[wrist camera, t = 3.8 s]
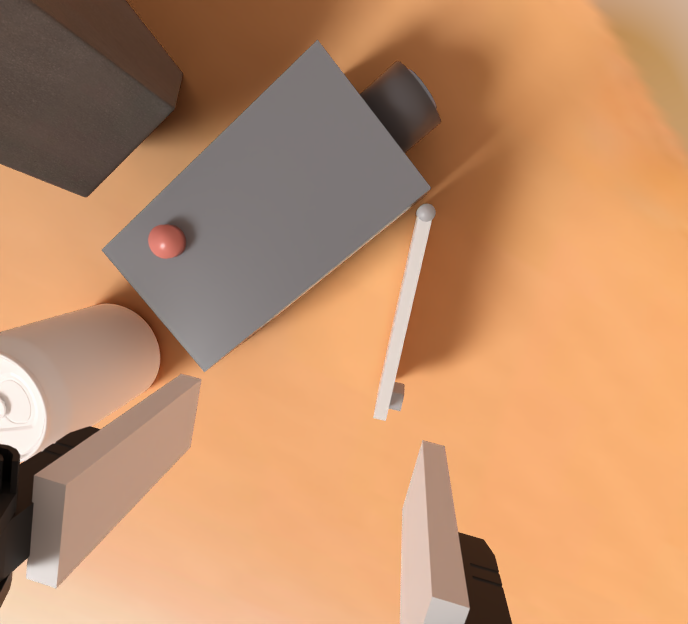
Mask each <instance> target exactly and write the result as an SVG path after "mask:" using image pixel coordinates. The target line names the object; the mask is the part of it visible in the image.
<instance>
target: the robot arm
mask: <svg viewBox="0 0 688 624" xmlns="http://www.w3.org/2000/svg"><path fill="white" fill-rule="evenodd" d="M200 385H201V379H199V378H195V377H191V376H188V375H184V374H180V375H179V376H177V377H176V378H175V379H173V380H172V381H170V382H169V383H167V384H166V385H164V386H163V387H161V388H160V389H159V390H157V391H156V392H154V393H153V394H151V395H150V396H148V397H147V398H145V399H144V400H143V401H141V402H140V403H138V404H137V405H135V406H134V407H132V408H131V409H130V410H128V411H127V412H125V413H124V414H122V415H121V416H119V417H118V418H116V419H115V420H114V421H112V422H111V423H109V424H108V425H106V426H105V427H103V428H102V429H98V428H94V427H91V426H88V427H85V428H82V429H79V430H76V431H73V432H70V433H68V434H67V435H65V436H64V437H62V438H61V439H59V440H57V441H56V443H55V444H51V445H50V446H48V447H46V448H45V449H44V450H43V452H42V451H40V452H39V453H37V454H35V455H34V456H32V457H31V458H29V459H28V460H26V461H24V462H23V463H21V464H20V453H19V452H18V450H17V449H16V448H13V447H11V446H9V445H4V444H0V607H1V605H2V603H3V601H4V599H5V597H6V595H7V593H8V591H9V589H10V586H11V581H12V571H14V570H15V569H16V568H17V567H18V566H19V565H20V564H21V563H22V562H24V561H25V560H26V559H27V558H28V561H27V574H26V579H29V580H32V581H35V582H38V583H41V584H44V585H48V586H51V587H54V588H57V587H58V586H59V585H60V584H61V583H62V582H63V581H64V580H65V579H66V578H67V577H68V576H69V574H70V573H71V572H72V571H73V570H74V569H75V568H76V567H77V566H78V565H79V564H80V563H81V562H82V561H83V560H84V559H85V558H86V557H87V556H88V554H89V553H90V552H91V551H92V550H93V549H94V548H95V547H96V546H97V545H98V544H99V543H100V542H101V541H102V540H103V539H104V538H105V537H106V536H107V534H108V533H109V532H110V531H111V530H112V529H113V528H114V527H115V526H116V525H117V524H118V523H119V522H120V521H121V520H122V519H123V518H124V517H125V516H126V514H127V513H128V512H129V511H130V510H131V509H132V508H133V507H134V506H135V505H136V504H137V503H138V502H139V501H140V500H141V499H142V498H143V497H144V496H145V494H146V493H147V492H148V491H149V490H150V489H151V488H152V487H153V486H154V485H155V484H156V483H157V482H158V481H159V480H160V479H161V478H162V477H163V476H164V474H165V473H166V472H167V471H168V470H169V469H170V468H171V467H172V466H173V465H174V464H175V463H176V462H177V461H178V460H179V459H180V458H181V457H182V456H183V454H184V453H185V452H186V451H187V450H188V449H189V448H190V447H191V440H192V434H193V428H194V422H195V416H196V410H197V404H198V398H199V391H200ZM498 572H499V570H498V566H497V563H496V559H495V555H494V554H493V552H492V551H491V549H490V548H489V547H488V545H487V544H486V542H485V541H484V540H483V539H480V538H476V537H473V536H470V535H466V534H463V533H459V532H458V529H457V522H456V516H455V509H454V503H453V497H452V490H451V484H450V477H449V471H448V464H447V458H446V452H445V446H442V445H438V444H435V443H431V442H427V441H424V440H423V441H422V444H421V447H420V451H419V454H418V458H417V461H416V464H415V468H414V471H413V475H412V478H411V481H410V485H409V488H408V491H407V495H406V498H405V502H404V505H403V508H402V550H401V595H400V624H512V622H511V618H510V614H509V610H508V606H507V602H506V598H505V594H504V590H503V588H502V582H501V578H500V575H499V574H498Z"/></svg>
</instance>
